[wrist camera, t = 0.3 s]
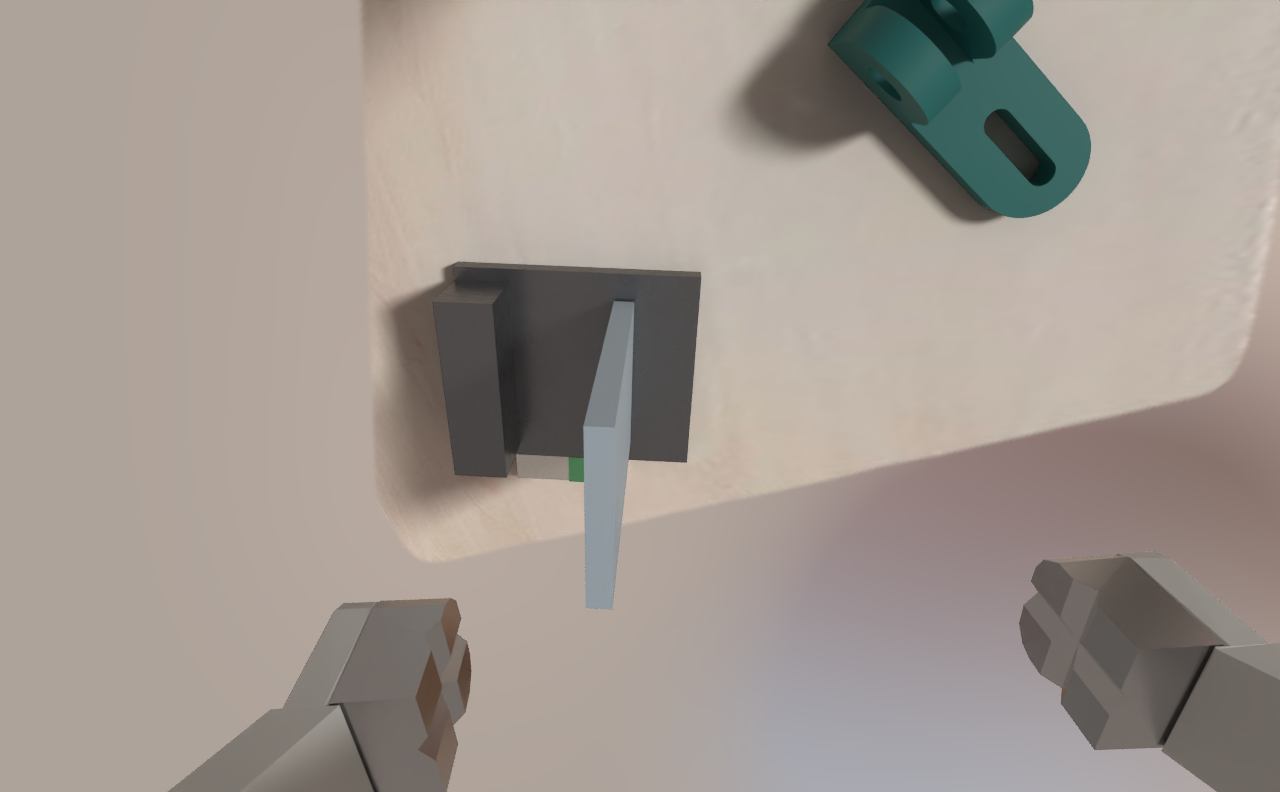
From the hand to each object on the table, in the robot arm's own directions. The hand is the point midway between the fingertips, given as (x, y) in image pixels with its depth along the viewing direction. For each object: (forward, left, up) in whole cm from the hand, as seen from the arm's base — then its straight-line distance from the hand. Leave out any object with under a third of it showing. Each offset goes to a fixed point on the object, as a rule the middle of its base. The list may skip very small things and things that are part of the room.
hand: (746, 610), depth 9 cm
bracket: (-5, +17, -39) cm, 43 cm away
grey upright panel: (+17, -4, -37) cm, 41 cm away
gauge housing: (+16, -8, -39) cm, 43 cm away
